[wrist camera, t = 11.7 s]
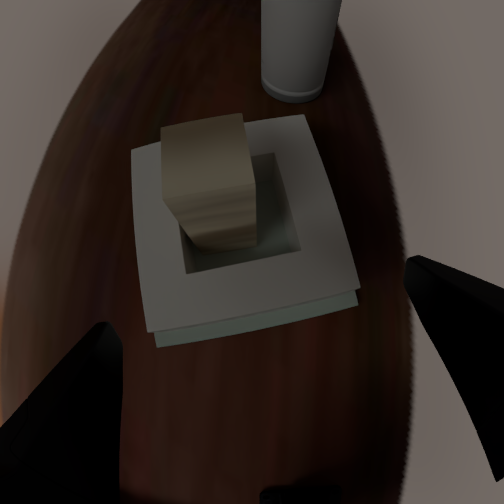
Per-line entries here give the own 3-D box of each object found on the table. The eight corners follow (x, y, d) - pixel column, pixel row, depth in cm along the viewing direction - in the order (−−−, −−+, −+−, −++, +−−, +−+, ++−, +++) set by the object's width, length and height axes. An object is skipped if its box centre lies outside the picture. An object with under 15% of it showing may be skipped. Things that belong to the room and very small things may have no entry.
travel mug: (246, 79, 27) (237, -100, 8) (296, 59, 28) (312, -100, 9) (283, 114, 26) (300, -93, 6) (334, 92, 27) (377, -83, 7)
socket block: (355, 305, 21) (378, 299, 17) (159, 347, 21) (135, 350, 16) (304, 137, 25) (312, 103, 21) (139, 171, 25) (119, 143, 20)
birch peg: (256, 246, 22) (255, 183, 12) (202, 255, 22) (162, 199, 12) (248, 197, 23) (241, 112, 13) (197, 206, 23) (160, 127, 13)
